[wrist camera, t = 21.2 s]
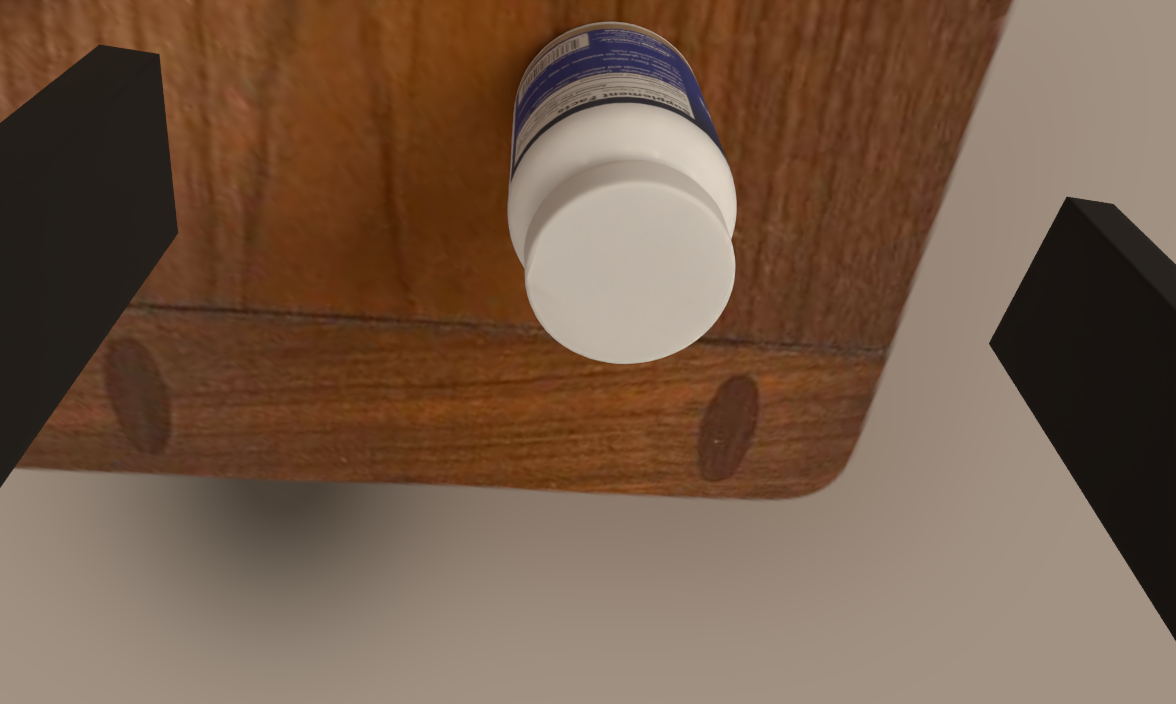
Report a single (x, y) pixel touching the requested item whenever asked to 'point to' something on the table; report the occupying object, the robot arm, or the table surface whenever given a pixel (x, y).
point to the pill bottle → (619, 196)
